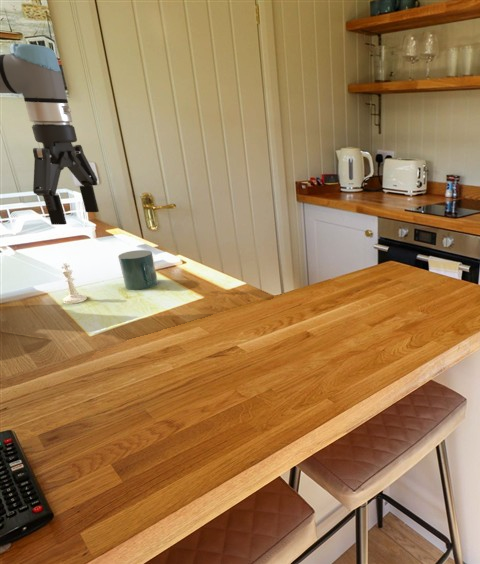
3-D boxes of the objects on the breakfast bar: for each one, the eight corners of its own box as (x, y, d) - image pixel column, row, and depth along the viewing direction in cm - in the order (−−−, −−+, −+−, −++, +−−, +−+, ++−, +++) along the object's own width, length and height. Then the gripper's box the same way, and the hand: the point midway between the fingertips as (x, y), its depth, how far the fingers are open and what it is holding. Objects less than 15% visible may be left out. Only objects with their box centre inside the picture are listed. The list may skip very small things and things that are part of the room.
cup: (120, 285, 119) (113, 254, 116) (150, 277, 125) (144, 248, 122) (136, 294, 113) (129, 262, 110) (166, 285, 119) (160, 255, 116)
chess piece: (58, 302, 107) (47, 265, 104) (76, 295, 112) (66, 259, 108) (74, 304, 106) (63, 267, 103) (91, 297, 111) (82, 261, 107)
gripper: (32, 124, 83) (61, 230, 91) (100, 123, 106) (119, 207, 114) (-10, 124, 82) (23, 230, 90) (68, 122, 105) (88, 207, 113)
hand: (76, 217), depth 102 cm, fingers open, 13 cm apart
